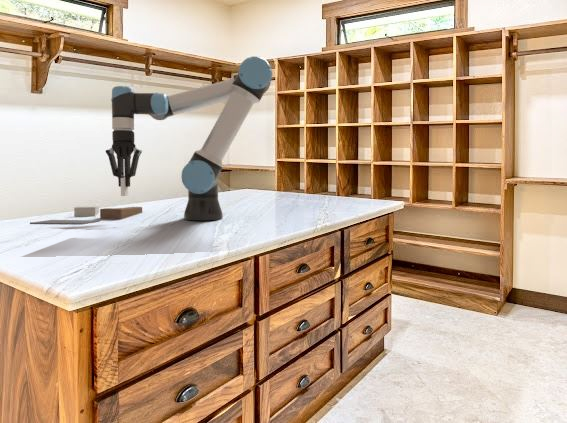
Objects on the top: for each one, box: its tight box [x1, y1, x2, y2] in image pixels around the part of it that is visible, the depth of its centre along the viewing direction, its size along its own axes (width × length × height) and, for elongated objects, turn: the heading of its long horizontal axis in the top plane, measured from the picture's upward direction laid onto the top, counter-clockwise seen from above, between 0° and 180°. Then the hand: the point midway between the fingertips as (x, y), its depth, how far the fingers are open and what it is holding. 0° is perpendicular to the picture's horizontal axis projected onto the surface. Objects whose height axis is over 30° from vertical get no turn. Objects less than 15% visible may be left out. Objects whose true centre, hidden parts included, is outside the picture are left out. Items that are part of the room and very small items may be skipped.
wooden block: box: [99, 206, 143, 220], centre depth 194 cm, size 9×4×18 cm
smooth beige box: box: [73, 205, 100, 217], centre depth 196 cm, size 8×8×5 cm
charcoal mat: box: [29, 219, 102, 225], centre depth 176 cm, size 20×13×1 cm, turn 83°
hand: (124, 195), depth 173 cm, fingers closed
